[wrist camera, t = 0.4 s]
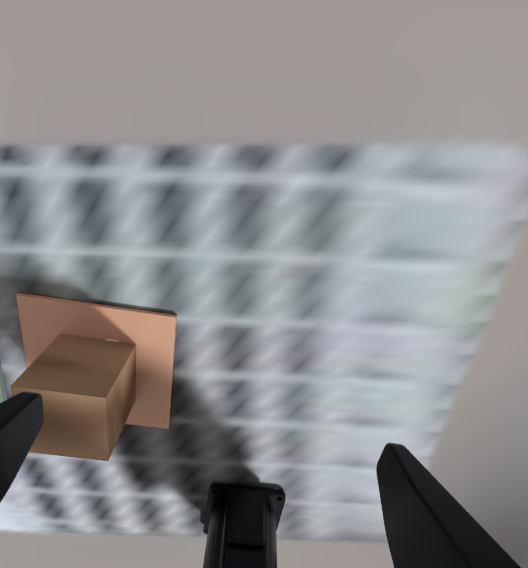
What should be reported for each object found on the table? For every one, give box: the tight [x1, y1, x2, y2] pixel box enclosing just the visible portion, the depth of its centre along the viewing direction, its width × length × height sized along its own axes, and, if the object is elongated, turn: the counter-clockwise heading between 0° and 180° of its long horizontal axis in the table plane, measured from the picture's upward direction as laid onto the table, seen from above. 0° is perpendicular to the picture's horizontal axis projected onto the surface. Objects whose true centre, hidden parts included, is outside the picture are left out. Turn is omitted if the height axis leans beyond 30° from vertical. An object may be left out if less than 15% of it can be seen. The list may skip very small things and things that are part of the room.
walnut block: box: [11, 334, 136, 461], centre depth 23 cm, size 5×5×5 cm
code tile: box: [16, 293, 177, 429], centre depth 25 cm, size 10×10×1 cm
